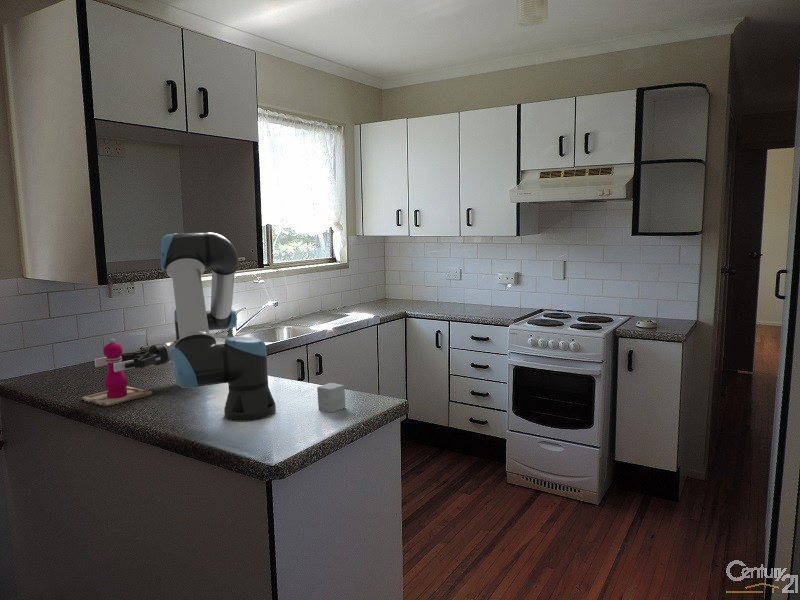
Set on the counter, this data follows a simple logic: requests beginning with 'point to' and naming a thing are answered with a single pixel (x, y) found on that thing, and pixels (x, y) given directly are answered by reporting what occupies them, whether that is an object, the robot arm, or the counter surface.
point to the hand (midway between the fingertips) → (104, 365)
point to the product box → (331, 397)
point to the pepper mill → (114, 380)
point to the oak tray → (105, 401)
